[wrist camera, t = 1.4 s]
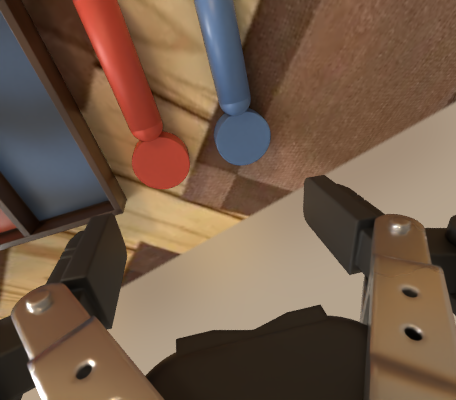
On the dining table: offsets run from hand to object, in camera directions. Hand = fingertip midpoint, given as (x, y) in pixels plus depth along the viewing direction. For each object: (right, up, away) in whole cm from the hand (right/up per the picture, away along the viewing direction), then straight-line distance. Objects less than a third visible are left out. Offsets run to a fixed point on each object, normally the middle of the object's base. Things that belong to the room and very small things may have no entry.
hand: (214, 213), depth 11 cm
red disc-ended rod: (-7, +9, +12) cm, 17 cm away
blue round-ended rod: (+1, +11, +13) cm, 17 cm away
